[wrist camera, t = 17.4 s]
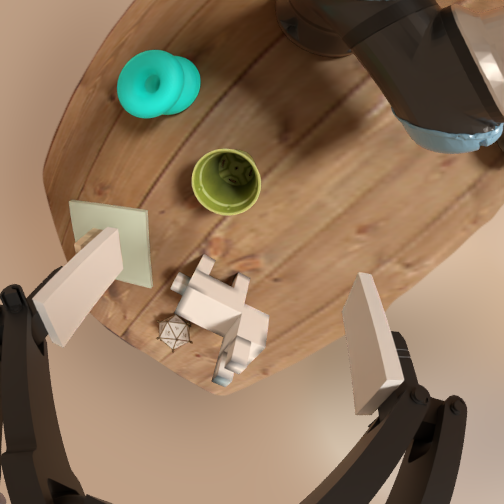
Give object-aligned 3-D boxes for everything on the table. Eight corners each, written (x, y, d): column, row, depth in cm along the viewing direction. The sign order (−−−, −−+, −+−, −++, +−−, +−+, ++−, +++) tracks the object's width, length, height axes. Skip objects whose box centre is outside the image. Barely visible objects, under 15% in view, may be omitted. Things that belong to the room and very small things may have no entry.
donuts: (192, 93, 29) (131, 133, 32) (213, 95, 37) (162, 124, 41) (159, 34, 25) (103, 77, 28) (186, 46, 33) (137, 78, 36)
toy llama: (192, 247, 52) (149, 321, 35) (272, 289, 55) (262, 373, 37) (179, 274, 56) (139, 347, 39) (254, 312, 58) (239, 392, 41)
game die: (186, 304, 65) (194, 319, 56) (191, 336, 66) (200, 354, 57) (150, 310, 62) (152, 326, 53) (157, 342, 63) (160, 361, 54)
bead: (92, 227, 52) (73, 243, 46) (119, 232, 51) (100, 250, 45) (97, 255, 55) (80, 273, 49) (122, 261, 55) (106, 280, 49)
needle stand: (71, 199, 50) (35, 223, 40) (147, 210, 49) (115, 240, 39) (83, 267, 59) (56, 296, 49) (152, 285, 58) (130, 322, 48)
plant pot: (256, 202, 46) (249, 224, 38) (202, 185, 45) (185, 204, 38) (274, 150, 41) (270, 161, 34) (216, 133, 41) (200, 140, 33)
